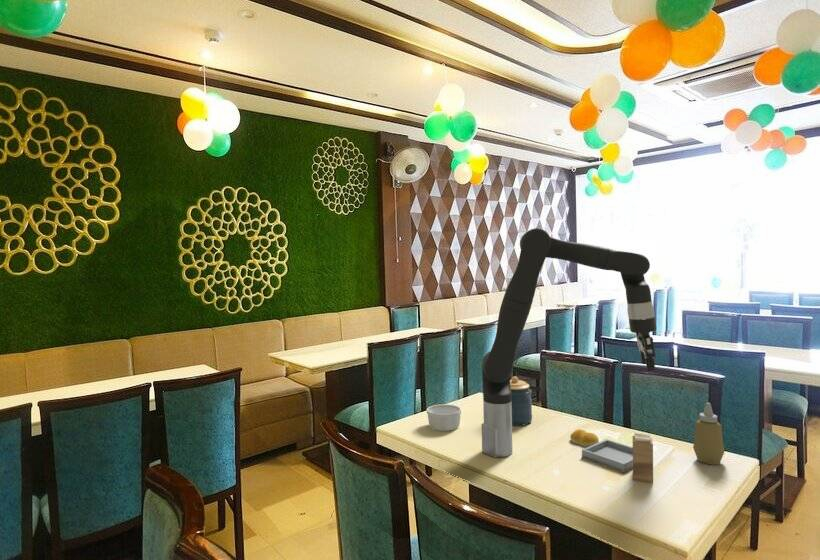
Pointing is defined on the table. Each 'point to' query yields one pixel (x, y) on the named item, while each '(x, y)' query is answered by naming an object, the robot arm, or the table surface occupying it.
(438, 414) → the ramekin
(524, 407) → the canister
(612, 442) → the tray
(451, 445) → the table surface
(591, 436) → the bread roll
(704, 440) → the squeeze bottle
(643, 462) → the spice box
